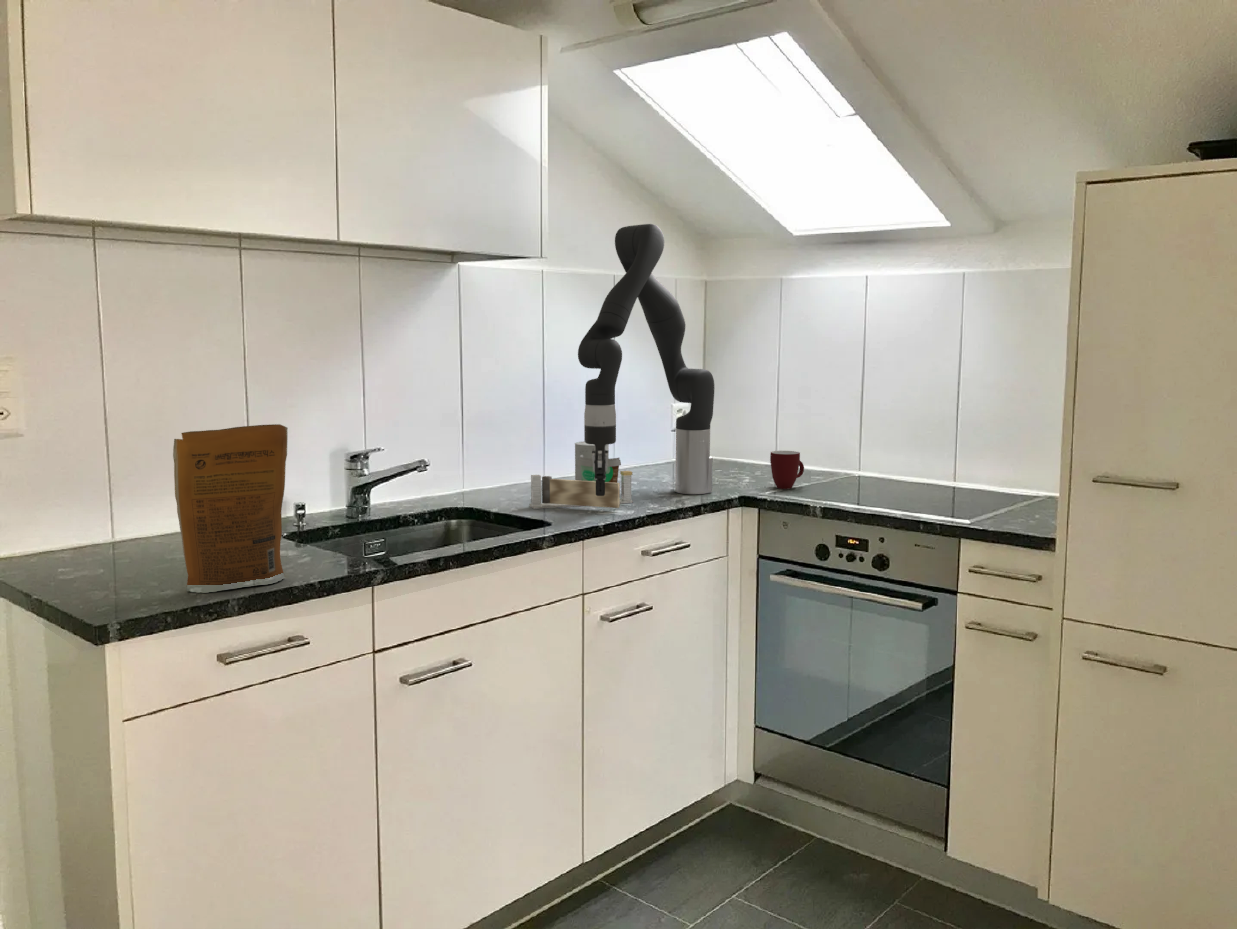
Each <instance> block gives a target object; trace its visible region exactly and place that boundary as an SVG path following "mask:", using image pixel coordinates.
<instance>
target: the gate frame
mask: <svg viewBox="0 0 1237 929" xmlns="http://www.w3.org/2000/svg"><path fill="white" fill-rule="evenodd" d="M619 471H620V472H619V475H621V476H620V477H621V478H620V479H621V480H620V485H621V486H620V487H621V488H620V489H621V490H620V492H621V493H620V494H621V495H620V496H621V497H620V505H621V504H632V503H633V501H634V500H632V476H633V471H631V470H619ZM528 506H529V507H530V508H532V509H533V510H538V509H554V508H555V509H556V508H570V507H573V506H574V507H581V506H580V505H566V504H552V503H548V504H545V503H542V476H541V475H540V474H530V503H529V505H528Z"/></svg>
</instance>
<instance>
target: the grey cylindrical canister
mask: <svg viewBox="0 0 1237 929" xmlns="http://www.w3.org/2000/svg"><path fill="white" fill-rule="evenodd" d="M609 447H610V444H606V445H605V450H608V459H610V456H609V455H610V454H609V452H610V451H609V450H610V449H609ZM592 450H595V445H594V444H587V443H585V441H578V442H574V477H575V478H574V480H581V481H582V475H581V465H579V464H578V461H579V458H580V456H581V455H583V458H591V459H592Z"/></svg>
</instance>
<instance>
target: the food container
mask: <svg viewBox="0 0 1237 929" xmlns="http://www.w3.org/2000/svg"><path fill="white" fill-rule="evenodd" d="M578 464H579V465H581V475H582V481H596V480H595V477H594V475H595V471H594V470H593V459H591V458H583V455H581V456H580V458H579V461H578ZM620 466H622V462H621V458H620V457H615V458H609V459H608V460H607V471H606V474H605V475H606V479H605V482H614V483H618V480H619V471H620Z"/></svg>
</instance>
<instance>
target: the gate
mask: <svg viewBox="0 0 1237 929" xmlns="http://www.w3.org/2000/svg"><path fill="white" fill-rule="evenodd" d="M620 485H621V482H617V483H614V482H605V495H604V496H597V495H596V481H581V480H575V479H564V478H563V479H562V478H553V476H550V475H543V476H541V504H542V503H545V504H548V503H552V504H566V505H580V506H579V507H584V506H585V507H595V508H596V507H597V508H598V507H599V508H613V509H619V508H621V507H620V505H621V504H620V499H621V497H620V496H621V495H620V494H621V493H620V492H621V490H620V489H621V488H620V487H621V486H620Z"/></svg>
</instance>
